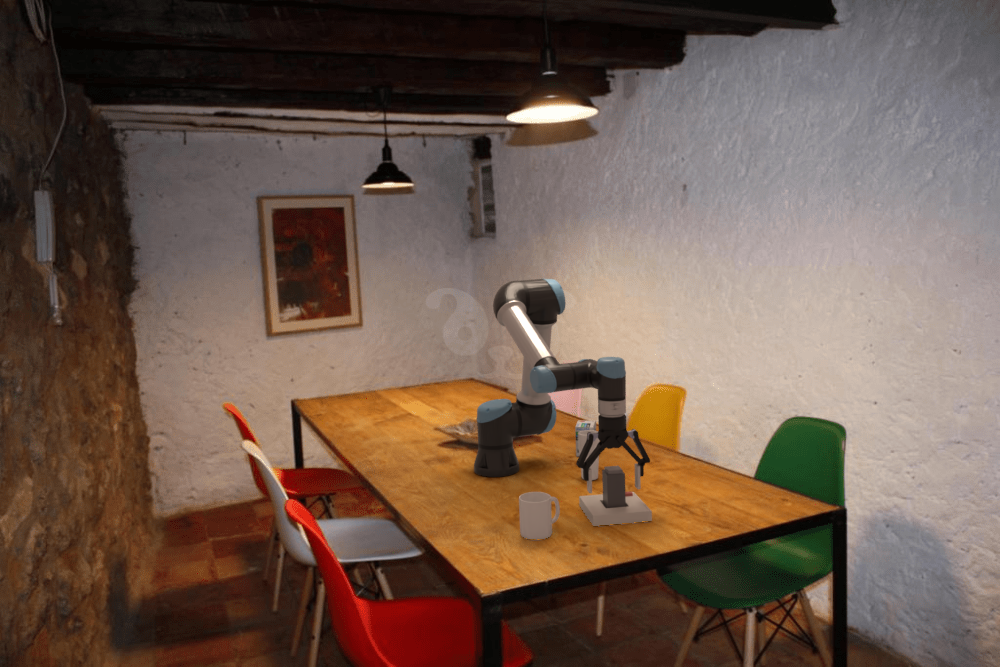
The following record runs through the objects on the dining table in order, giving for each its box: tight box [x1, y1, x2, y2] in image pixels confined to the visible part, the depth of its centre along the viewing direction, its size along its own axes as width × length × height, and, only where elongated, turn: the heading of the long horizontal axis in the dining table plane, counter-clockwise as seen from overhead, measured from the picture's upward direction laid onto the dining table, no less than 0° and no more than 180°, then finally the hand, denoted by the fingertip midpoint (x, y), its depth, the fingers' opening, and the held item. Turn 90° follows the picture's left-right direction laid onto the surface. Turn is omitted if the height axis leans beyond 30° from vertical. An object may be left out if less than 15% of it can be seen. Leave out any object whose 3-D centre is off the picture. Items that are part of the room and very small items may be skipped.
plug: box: [601, 465, 626, 508], centre depth 205 cm, size 5×5×13 cm
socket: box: [578, 490, 653, 527], centre depth 206 cm, size 16×16×4 cm
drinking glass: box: [578, 430, 600, 481], centre depth 237 cm, size 7×7×15 cm
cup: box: [518, 491, 561, 541], centre depth 194 cm, size 8×12×10 cm
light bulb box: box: [574, 419, 597, 457], centre depth 267 cm, size 11×7×11 cm, turn 168°
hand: (613, 489), depth 205 cm, fingers open, 13 cm apart
